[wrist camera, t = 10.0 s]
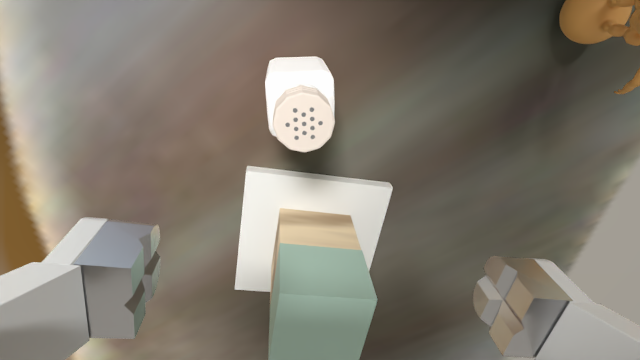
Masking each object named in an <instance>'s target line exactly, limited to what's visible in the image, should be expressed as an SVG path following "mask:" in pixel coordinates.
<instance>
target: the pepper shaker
mask: <svg viewBox="0 0 640 360" xmlns="http://www.w3.org/2000/svg"><path fill="white" fill-rule="evenodd" d="M265 90H266V102H267V114H268V124H269V130H270V132H271V133H272V135H273V136H276V137H277V139H278V140H279V141H280V142H281V143H282V144H284V145H285V146H286V147H287V148H288V149H290V150H294V151H299V152H305V153H306V152H309V151H312V150H315V149H319V148H321V147H322V146H323V145H324V144H325V143H326V142H327V141H328V140H329V139H330V138H331V136H332V132H333V128H334V125H335V119H334V108H335V103H334V79H333V77H332V75H331V72H330V71H329V69H328V68H327V66H326V64H325V63H324V61H323V60H322V59H321V58H319V57H316V56H313V57H286V58H275V59H272V60H270V62H269V65H268V69H267V75H266V80H265Z"/></svg>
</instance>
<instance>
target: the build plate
mask: <svg viewBox="0 0 640 360" xmlns="http://www.w3.org/2000/svg"><path fill="white" fill-rule="evenodd" d="M392 190H393V187H392V185H391V184H390V183H389V182H381V181H372V180H364V179H355V178H347V177H338V176H330V175H321V174H313V173H305V172H296V171H288V170H279V169H271V168H262V167H254V166H247V170H246V178H245V189H244V199H243V209H242V219H241V230H240V240H239V250H238V260H237V271H236V281H235V290H249V291H264V292H270V291H271V265H272V259H273V252H274V245H275V238H276V231H277V224H278V218H279V211H280V208H284V209H294V210H304V211H314V212H323V213H333V214H343V215H351V219H352V222H353V225H354V228H355V231H356V235H357V238H358V241H359V244H360V247H361V250H362V252H363V255H364V258H365V261H366V265H367V268H368V271H369V270H370V267H371V263H372V260H373V256H374V253H375V249H376V246H377V242H378V239H379V235H380V232H381V228H382V225H383V221H384V218H385V214H386V211H387V207H388V204H389V200H390V197H391V193H392Z"/></svg>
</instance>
